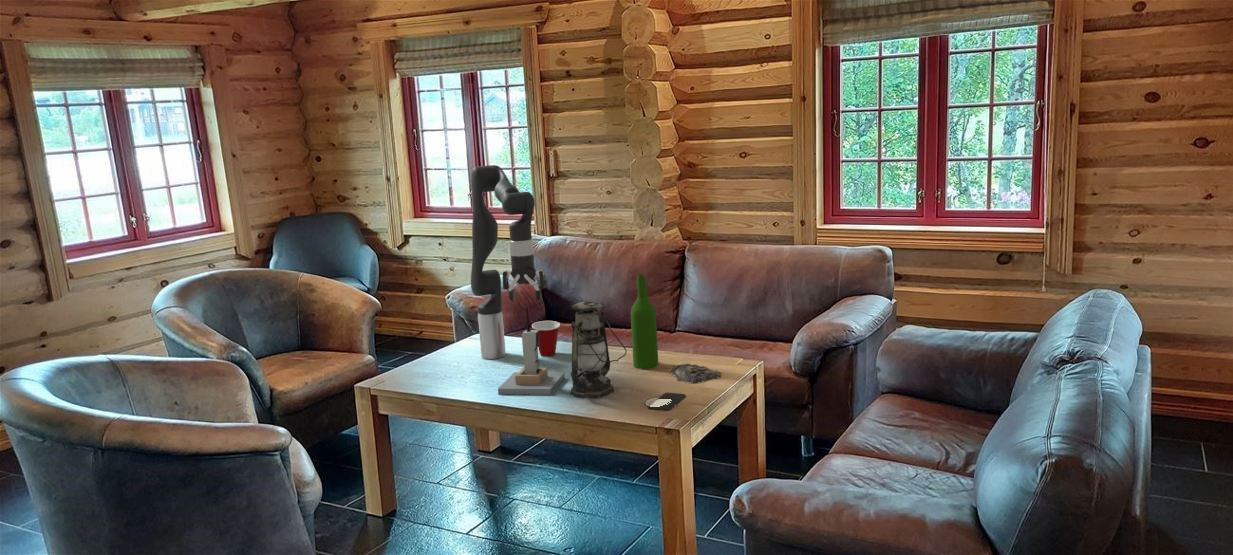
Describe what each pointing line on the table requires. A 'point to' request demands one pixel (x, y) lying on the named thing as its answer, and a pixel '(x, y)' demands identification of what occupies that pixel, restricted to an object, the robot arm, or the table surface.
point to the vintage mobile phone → (530, 349)
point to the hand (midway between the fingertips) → (525, 301)
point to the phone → (675, 400)
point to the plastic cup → (547, 336)
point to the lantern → (590, 352)
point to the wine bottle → (644, 329)
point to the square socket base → (532, 383)
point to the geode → (694, 373)
